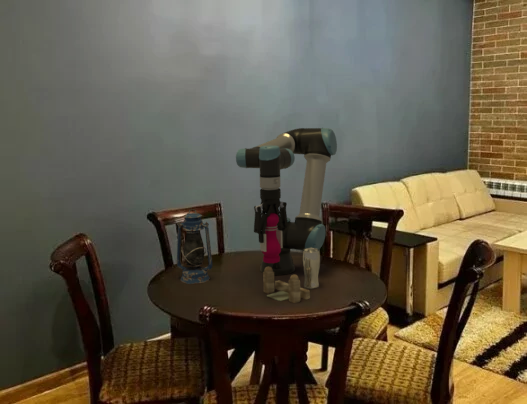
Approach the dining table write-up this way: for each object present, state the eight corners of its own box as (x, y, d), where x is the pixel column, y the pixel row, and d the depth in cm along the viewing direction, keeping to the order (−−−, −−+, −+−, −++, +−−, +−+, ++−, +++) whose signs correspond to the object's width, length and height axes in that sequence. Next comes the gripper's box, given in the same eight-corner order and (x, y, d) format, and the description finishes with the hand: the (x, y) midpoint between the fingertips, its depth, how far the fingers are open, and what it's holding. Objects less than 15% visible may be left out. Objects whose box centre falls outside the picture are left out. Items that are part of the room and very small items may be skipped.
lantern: (172, 283, 227) (169, 211, 223) (182, 274, 239) (179, 206, 234) (208, 284, 224) (205, 212, 219) (216, 276, 236) (214, 207, 231)
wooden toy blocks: (258, 293, 213) (257, 267, 211) (278, 287, 219) (278, 262, 218) (289, 304, 199) (289, 277, 198) (310, 298, 206) (310, 272, 204)
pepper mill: (261, 258, 209) (260, 207, 205) (280, 258, 209) (279, 206, 206) (262, 264, 202) (261, 210, 198) (282, 263, 202) (281, 209, 199)
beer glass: (321, 284, 222) (321, 248, 220) (317, 289, 216) (317, 252, 213) (305, 283, 224) (304, 247, 222) (300, 288, 218) (300, 251, 215)
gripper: (254, 192, 192) (256, 256, 196) (297, 186, 204) (298, 246, 208) (242, 190, 198) (244, 252, 202) (284, 184, 210) (285, 242, 214)
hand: (271, 249), depth 205 cm, fingers closed on pepper mill, 7 cm apart
